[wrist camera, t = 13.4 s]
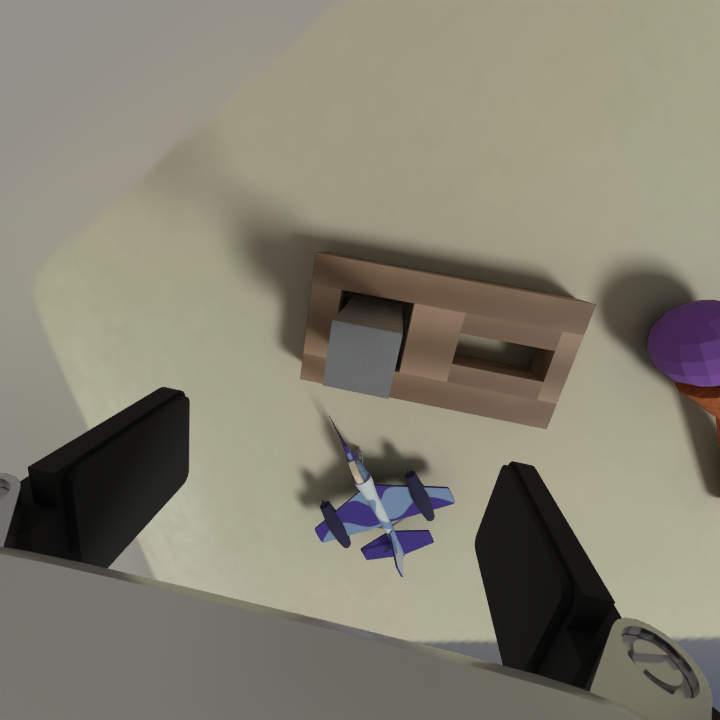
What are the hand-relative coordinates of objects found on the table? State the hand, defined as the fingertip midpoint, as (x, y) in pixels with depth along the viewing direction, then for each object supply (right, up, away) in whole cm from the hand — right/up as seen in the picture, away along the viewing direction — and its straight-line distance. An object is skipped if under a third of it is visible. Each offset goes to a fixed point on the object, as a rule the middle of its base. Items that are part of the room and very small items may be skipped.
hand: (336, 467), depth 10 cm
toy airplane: (+2, -9, +25) cm, 26 cm away
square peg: (+2, +6, +19) cm, 20 cm away
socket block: (+7, +5, +19) cm, 21 cm away
